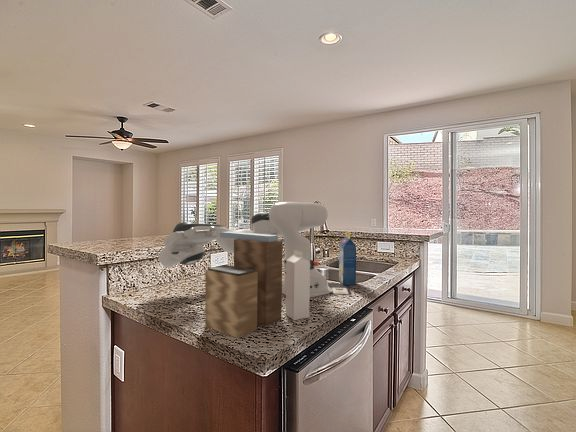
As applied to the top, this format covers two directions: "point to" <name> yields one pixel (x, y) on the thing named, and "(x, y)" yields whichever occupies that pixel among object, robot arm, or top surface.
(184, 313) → the top surface
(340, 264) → the blue food package
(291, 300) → the milk
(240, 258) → the stand
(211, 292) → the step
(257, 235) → the slat
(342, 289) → the chocolate bar
